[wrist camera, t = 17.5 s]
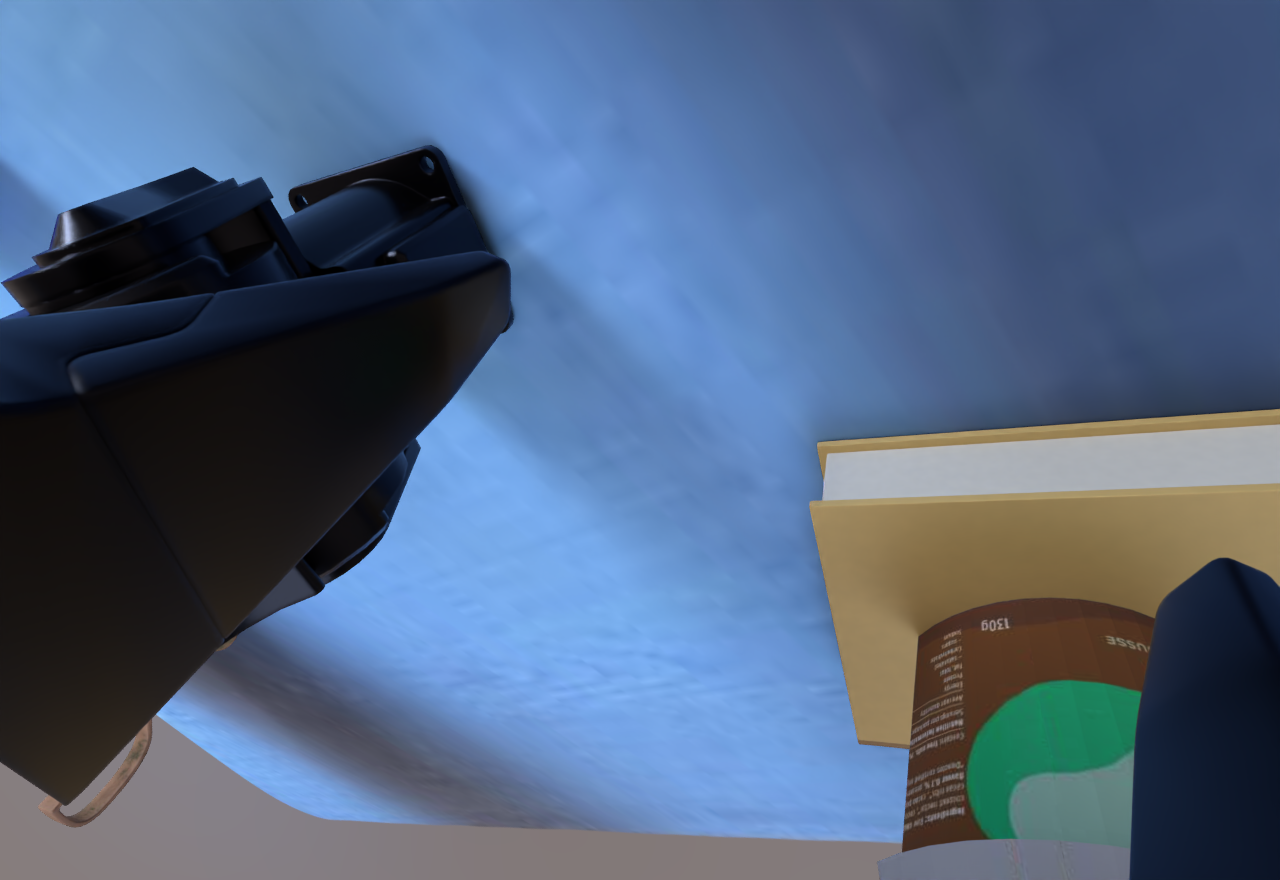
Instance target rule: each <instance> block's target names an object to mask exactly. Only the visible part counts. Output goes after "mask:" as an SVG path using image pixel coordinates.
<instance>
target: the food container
mask: <svg viewBox="0 0 1280 880" xmlns="http://www.w3.org/2000/svg"><path fill="white" fill-rule="evenodd" d="M1154 621H1155V618H1153V617H1150V616H1147V615H1145V614H1142V613H1139V612H1137V611H1134V610H1132V609H1128V608H1124V607H1120V606H1116V605H1112V604H1108V603H1103V602H1096V601H1089V600H1083V599H1072V598H1053V597H1047V598H1024V599H1016V600H1009V601H1001V602H995V603H991V604H987V605H983V606H979V607H975V608H972V609H969V610H966V611H963V612H961V613H958V614H955V615H952V616H950V617H948V618H946V619H945V620H943V621H941V622H939V623H937V624H935V625H933V626H932V627H931V628H929V629H928V630H926V631H925V632H924V633H922V634H921V635H920V636H918V644H917V658H916V671H915V684H914V698H913V711H912V724H911V738H910V751H909V764H908V778H907V791H906V804H905V818H904V831H903V844H902V853H898V854H896V855H893V856H891V857H888V858H886V859H883V860H881V861H878V862H877V864H878V871H879V877H880V880H1129V872H1130V845H1131V819H1132V792H1133V766H1134V745H1135V731H1136V723H1137V716H1138V709H1139V704H1140V698H1141V693H1142V687H1143V682H1144V676H1145V671H1146V665H1147V659H1148V654H1149V648H1150V643H1151V637H1152V632H1153V626H1154Z"/></svg>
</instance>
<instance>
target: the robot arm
mask: <svg viewBox="0 0 1280 880" xmlns="http://www.w3.org/2000/svg"><path fill="white" fill-rule="evenodd" d="M426 157H428V158H429V159H431V161H432V162H433V165H434V170H433V169H431V168H429V166H428V165H427V163H426ZM288 195H289V201H290V204H291V206H292V208H293V210H294V211H295V214H293V215H291V216H289V217H287V218H285V219H283V220H282V219H281V217H280V215H279V213H278V212H277V210H276V208H275V207H274V205H273V203H272V202H271V200H270V199H271V198H273V195H272V194H271V192H270V190H269V189H268V187H267V185H266V184H265V182H264V180H263V178H262V177H259V178H257V179H254V180H251V181H248V182H245V183H242V184H240V185H238V184H237V182H236V181H235V179H234V178H231V179H228V180H225V181H221V182H218V181H216V180H215V179H213V178H211V177H210V176H208V175H206V174H204V173H203V172H201V171H199V170H198V169H196V168H194V167H192V168H189V169H186V170H184V171H181V172H178V173H175V174H172V175H170V176H167V177H164V178H161V179H159V180H156V181H153V182H150V183H147V184H145V185H142V186H139V187H136V188H133V189H130V190H127V191H124V192H121V193H118V194H115V195H112V196H109V197H106V198H103V199H100V200H97V201H94V202H91V203H88V204H85V205H82V206H80V207H77V208H74V209H71V210H69V211H66V212H63V213H61V214H58V216H57V220H56V224H55V228H54V232H53V236H52V240H51V244H50V248H49V249H48V250H46V251H44V252H42V253H40V254H37V255H35V256H33V257H32V259H33V260H34V261H35V262H36V265H34V266H32V267H30V268H28V269H26V270H24V271H22V272H20V273H18V274H16V275H14V276H12V277H10V278H8V279H7V280H5V281H3V282H1V284H2V285H3V286H4V287H5V288H6V290H7V291H8V292H9V293H10V294H11V295H12V297H13V298H14V299H15V300H16V301H17V302H18V304H19V305H20V306H21V307H24V308H25V309H23V310H21V311H18V312H16V313H14V314H11V315H9V316H6V317H4V318H2V319H0V762H1V763H2V764H4V765H6V766H7V767H8V768H10V769H11V770H13V771H14V772H16V773H17V774H19V775H20V776H22V777H23V778H25V779H26V780H27V781H29V782H30V783H32V784H33V785H35V786H36V787H38V788H39V789H41V790H42V791H44V792H45V793H47V794H48V795H50V796H51V797H52V798H54V799H55V800H57V801H58V802H60V803H61V804H63V805H64V806H66V805H68V804H69V803H71V802H72V801H73V800H74V799H75V798H76V797H77V796H78V795H79V794H80V793H82V792H83V791H84V790H85V788H87V787H88V786H89V784H90V783H91V782H92V781H93V780H94V779H95V778H96V777H97V776H98V775H99V774H100V773H101V772H102V771H103V770H104V769H105V767H106V766H107V765H108V764H109V763H110V762H111V761H112V760H113V759H114V758H115V757H116V756H117V755H118V754H119V753H120V752H121V750H122V749H123V748H124V747H125V746H126V745H127V744H128V743H129V742H130V741H131V740H132V739H133V738H134V737H135V736H136V735H137V734H138V733H139V731H140V730H141V729H142V728H143V727H144V726H145V725H146V724H147V723H148V722H149V721H150V720H151V719H152V718H153V717H154V716H155V715H156V713H157V712H158V711H159V710H160V709H161V708H162V707H163V706H164V705H165V704H166V703H167V702H168V701H169V700H170V699H171V698H172V697H173V695H174V694H175V693H176V692H177V691H178V690H179V689H180V688H181V687H182V686H183V685H184V684H185V683H186V682H187V681H188V680H189V679H190V677H191V676H192V675H193V674H194V673H195V672H196V671H197V670H198V669H199V668H200V667H201V666H202V665H203V664H204V663H205V662H206V661H207V659H208V658H209V657H210V656H211V655H212V654H213V653H214V652H215V651H216V650H217V649H218V648H219V647H221V646H222V645H223V644H225V643H226V642H228V641H229V640H231V639H232V638H234V637H235V636H237V635H238V634H239V633H241V632H242V631H244V630H245V629H247V628H249V627H250V626H252V625H254V624H256V623H258V622H259V621H261V620H263V619H265V618H266V617H268V616H270V615H272V614H274V613H275V612H277V611H279V610H281V609H283V608H286V607H288V606H290V605H293V604H295V603H298V602H300V601H303V600H305V599H308V598H310V597H312V596H315V595H317V594H318V593H320V592H321V591H322V590H323V589H324V587H325V584H327V583H329V582H331V581H333V580H334V579H336V578H338V577H339V576H341V575H343V574H344V573H346V572H347V571H348V570H350V569H351V568H353V567H354V566H355V565H357V564H358V563H359V562H360V561H361V560H363V559H364V558H365V557H366V556H367V555H368V554H369V553H370V552H371V551H372V550H373V549H374V548H375V546H376V545H377V544H378V543H379V542H380V540H381V539H382V538H383V536H384V534H385V532H386V530H387V529H388V527H389V524H390V522H391V519H392V517H393V515H394V512H395V510H396V507H397V505H398V502H399V500H400V498H401V495H402V493H403V490H404V488H405V485H406V483H407V481H408V478H409V476H410V473H411V471H412V469H413V466H414V464H415V461H416V459H417V456H418V454H419V452H420V449H421V447H420V445H419V444H418V442H417V440H416V439H415V438H416V437H417V436H418V435H419V434H420V433H421V432H422V431H423V430H424V429H425V428H426V427H427V426H428V425H429V423H430V422H431V421H432V420H433V419H434V418H435V417H436V416H437V415H438V414H439V413H440V412H441V411H442V409H443V408H444V407H445V406H446V405H447V404H448V403H449V401H450V400H451V399H452V398H453V396H454V395H455V394H456V393H457V392H458V390H459V389H460V388H461V386H462V385H463V384H464V382H465V381H466V379H467V378H468V377H469V375H470V374H471V373H472V371H473V370H474V369H475V367H476V366H477V365H478V363H479V362H480V361H481V359H482V358H483V357H484V355H485V354H486V353H487V351H488V350H489V349H490V347H491V346H492V345H493V343H494V342H495V341H496V339H497V338H498V337H499V335H500V334H502V333H504V332H506V331H507V330H508V329H509V328H510V327H511V325H512V324H513V320H514V318H513V314H512V312H511V270H510V266H509V264H508V263H507V261H506V260H504V259H502V258H499V257H497V256H495V255H492V254H490V253H488V251H487V249H486V247H485V244H484V242H483V240H482V237H481V235H480V233H479V230H478V228H477V226H476V223H475V221H474V219H473V216H472V214H471V212H470V210H468V209H467V207H466V204H465V202H464V200H463V197H462V195H461V193H460V190H459V188H458V186H457V183H456V181H455V179H454V176H453V174H452V172H451V169H450V167H449V165H448V162H447V160H446V158H445V156H444V154H443V153H442V152H441V151H440V150H439V149H438V148H437V147H434V146H432V145H428V146H423V147H420V148H417V149H414V150H410V151H407V152H404V153H401V154H397V155H394V156H391V157H388V158H384V159H381V160H378V161H375V162H372V163H368V164H365V165H362V166H359V167H355V168H352V169H349V170H346V171H343V172H339V173H336V174H333V175H330V176H326V177H323V178H320V179H317V180H314V181H310V182H307V183H304V184H301V185H299V186H296V187H294V188H293V189H291V190H290V192H289V194H288ZM302 196H303V197H304V198H305V199H306V200H307V203H308V204H306V203H305V201H304V200H303V197H302ZM1129 880H1280V587H1279V585H1278V584H1277V583H1276V582H1275V581H1274V580H1273V579H1272V578H1271V577H1270V576H1269V575H1268V574H1266V573H1265V572H1263V571H1261V570H1258V569H1256V568H1253V567H1251V566H1249V565H1246V564H1244V563H1241V562H1239V561H1236V560H1234V559H1231V558H1226V557H1222V558H1217V559H1214V560H1212V561H1210V562H1209V563H1207V564H1206V565H1205V566H1203V567H1202V568H1201V569H1199V570H1198V571H1197V572H1196V573H1194V574H1193V575H1192V576H1190V577H1189V578H1188V579H1187V580H1185V581H1184V582H1183V583H1181V584H1180V585H1179V586H1177V587H1176V588H1175V589H1174V590H1172V591H1171V592H1170V593H1168V594H1167V595H1166V596H1165V598H1164V599H1163V600H1162V601H1161V603H1160V605H1159V607H1158V609H1157V612H1156V615H1155V621H1154V626H1153V632H1152V637H1151V643H1150V648H1149V654H1148V659H1147V665H1146V671H1145V676H1144V682H1143V687H1142V693H1141V698H1140V704H1139V709H1138V716H1137V723H1136V731H1135V745H1134V766H1133V792H1132V819H1131V845H1130V872H1129Z"/></svg>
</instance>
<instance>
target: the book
mask: <svg viewBox="0 0 1280 880" xmlns="http://www.w3.org/2000/svg"><path fill="white" fill-rule="evenodd" d="M817 449H818V454H819V459H820V465H821V470H822V475H823V481H824V487H823V496H822V501H810V506H809V507H810V512H811V517H812V522H813V527H814V531H815V536H816V541H817V546H818V551H819V555H820V560H821V565H822V570H823V575H824V579H825V584H826V589H827V594H828V599H829V604H830V608H831V613H832V618H833V623H834V628H835V632H836V637H837V642H838V647H839V652H840V656H841V661H842V666H843V671H844V676H845V680H846V685H847V690H848V695H849V700H850V704H851V709H852V714H853V719H854V724H855V729H856V733H857V738H858V743H859V744H864V745H874V746H884V747H894V748H904V749H910V738H911V724H912V711H913V698H914V684H915V671H916V658H917V644H918V636H920V635H921V634H922V633H924V632H925V631H926V630H928V629H929V628H931V627H932V626H933V625H935V624H937V623H939V622H941V621H943V620H945V619H946V618H948V617H950V616H952V615H955V614H958V613H961V612H963V611H966V610H969V609H972V608H975V607H979V606H983V605H987V604H991V603H995V602H1001V601H1009V600H1016V599H1024V598H1047V597H1053V598H1072V599H1083V600H1089V601H1096V602H1103V603H1108V604H1112V605H1116V606H1120V607H1124V608H1128V609H1132V610H1134V611H1137V612H1139V613H1142V614H1145V615H1147V616H1150V617H1153V618H1155V615H1156V612H1157V609H1158V607H1159V605H1160V603H1161V601H1162V600H1163V599H1164V598H1165V596H1166V595H1167V594H1168V593H1170V592H1171V591H1172V590H1174V589H1175V588H1176V587H1177V586H1179V585H1180V584H1181V583H1183V582H1184V581H1185V580H1187V579H1188V578H1189V577H1190V576H1192V575H1193V574H1194V573H1196V572H1197V571H1198V570H1199V569H1201V568H1202V567H1203V566H1205V565H1206V564H1207V563H1209V562H1210V561H1212V560H1214V559H1217V558H1222V557H1226V558H1231V559H1234V560H1236V561H1239V562H1241V563H1244V564H1246V565H1249V566H1251V567H1253V568H1256V569H1258V570H1261V571H1263V572H1265V573H1266V574H1268V575H1269V576H1270V577H1271V578H1272V579H1273V580H1274V581H1275V582H1276V583H1277V584H1278V585H1279V587H1280V409H1273V410H1259V411H1245V412H1231V413H1217V414H1203V415H1189V416H1175V417H1161V418H1147V419H1133V420H1119V421H1105V422H1091V423H1077V424H1063V425H1049V426H1035V427H1021V428H1007V429H993V430H979V431H965V432H951V433H937V434H923V435H909V436H895V437H881V438H867V439H853V440H839V441H826V442H818V444H817Z"/></svg>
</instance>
